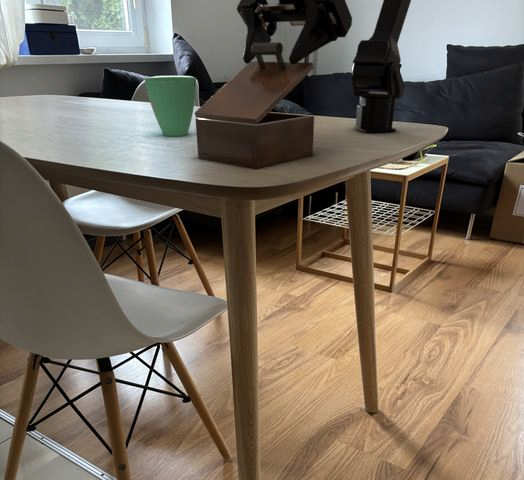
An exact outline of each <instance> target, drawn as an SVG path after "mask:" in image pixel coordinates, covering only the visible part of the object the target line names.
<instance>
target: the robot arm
mask: <svg viewBox="0 0 524 480" xmlns="http://www.w3.org/2000/svg"><path fill="white" fill-rule="evenodd" d="M411 2H412V0H383V1H382V4H381V7H380V10H379V14H378V17H377V20H376V23H375V27H374V30H373V33H372V35H371V36H370V37H369V39H362V40H360V41H359V43H358V45H357V50H356V54H355V56H354V57H353V60H352V63H353V65H352V68H351V74H350V75H351V82H352V84H351V85H352V94H353V97H359V104H357V106H356V115H355V116H356V119H355V125H354V126H353V128H354V130H357V131H361V132H363V133H383V132H396V130H397V128H395V127H393V124H394V123H393V122H394V113H395V105H396V99H401V98H403V95H404V92H405V88H406V84H405V81H404V79H403V76H402V72H401V70H400V65H401V61H402V60H401V59H402V58H401V55H400V51H399V45H398V43H399V40H400V38H401V37H400V36H401V33H402V31H403V28H404V24H405V20H406V18H407V15H408V12H409V8H410V5H411ZM236 11H237V13H238V15H239V16H240V18H241V19H242V21H243V23H244V25H245V26H246V34H245V41H244V47H243V55H242V60H243V62H244V63H245V64H246V65H247V64H248V63H249V62H253V60H254V59H256V55H254V54H252V52H251V46H252V44H253V43H272V38H271V37H273V36H274V35H275V33H276V31H277V30H278V23H286V22H289V24H290V25H291V27H294V26H295V27H297V26H298V27H300V26H302V29H301V31H300V33H299V34H298V37H297V39H296V41H295V43H294V45H293V47H292V49H291V52H290V55H289V57H288V62H290V63H291V64H292V65H294V64H296V63H297V62H300V61H302V60H304V59H305V58H306V57H308V56H310V55H311V54H313V53H314V52H316V51H317V50H319V49H321V48H323V47H325V46H327V45H328V44H329V43H332V42H336V41H337V40H338V38H346V36H347V35H348V33H349V31H350V29H351V27H352V25H353V16H352V14H351V11H350V9H349V6H348V4H347V2H346V0H278V3H273V4H269V1H267V0H240V1H239V3H238V5H236ZM370 90H378V91H370ZM379 90H380V91H379Z"/></svg>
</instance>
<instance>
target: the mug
mask: <svg viewBox="0 0 524 480" xmlns="http://www.w3.org/2000/svg"><path fill="white" fill-rule="evenodd" d="M144 85H145V88H146V92H147V96H148V99H149V102H150V103H149V104H150V105H151V109H152V111H153V115H154V117H155V119H156V121H157V124H158V126H159V129H160V131H161V132H162V135H163V136H166V137H184V136H188V134H189V131H190V127H191V123H192V119H193V113H194V109H195V101H196V92H197V91H196V90H197V78H196V77H194V76H160V77H159V76H157V77H146V78H144Z"/></svg>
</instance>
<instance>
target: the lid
mask: <svg viewBox="0 0 524 480" xmlns="http://www.w3.org/2000/svg"><path fill="white" fill-rule="evenodd" d="M283 50H284V47H283V43H281V41H278V42H270V43H253V44H252V46H251V52H252V54H254V55H256V57H255V59H256V61H250V62H249V63H248V64H246V65H245V66H244V67H242V69H241V70H240V71H238V72H237V73H236V74H235V75H234V76H233V77H232V78H230V79H229V80H228V81H227V82H226V83H225V84H224V85H223V86H222V87H221V88H220V89H219V90H218V91H216V92H215V93H214V94H213V95H212V96H211V97H210V98H209V99H208V100H206V102H204V104H202V105H201V106H200V107H199V108H198V109H197V110H196V111H194V112H193V113H194V116H195V119H196V118H204V119H213V120H222V121H231V122H240V123H249V124H258V123H259V122H260V121H261V120H262V119H263V118H264V117H265V116H266V115H267V114H268V113H269V112H272V110H273V109H274V108H275V107H276V106H277V105H278V104H279V103H280V102H281V101H282V100H284V98H285V97H286V96H287V95H288V94H289V93H290V92H291V91H292V90H293V89H295V87H297V85H299V83H300V82H301V81H302V80H304V79H305V77H306V76H307V75H308V74H310V72H311V71H312V70H314V68H315V66H314V62H300V61H299V62H297V63H296V64H294V65H292V64H291V63H290V61H284V57H283ZM263 56H275V58H276V61H264V57H263Z"/></svg>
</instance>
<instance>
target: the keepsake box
mask: <svg viewBox="0 0 524 480" xmlns="http://www.w3.org/2000/svg"><path fill="white" fill-rule="evenodd" d="M314 130H315V115H310V114H309V115H308V114H307V115H306V114H297V113H285V112H274V111H270V112H269V113H268V114H267V115H266V116H265V117H264V118H263V119H262V120H261V121H260V122H259V123H258V124H249V123H240V122H231V121H222V120H213V119H204V118H196V117H195V131H196V132H195V133H196V146H197V158H198V159H200V160H206V161H212V162H218V163H222V164H229V165H234V166H240V167H246V168H251V169H256V170H257V169H261V168H264V167H270V166H273V165H279V164H281V163H285V162H289V161H294V160H298V159H302V158H307V157H310V156H313V155H314V135H315V134H314V133H315V131H314Z"/></svg>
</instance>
